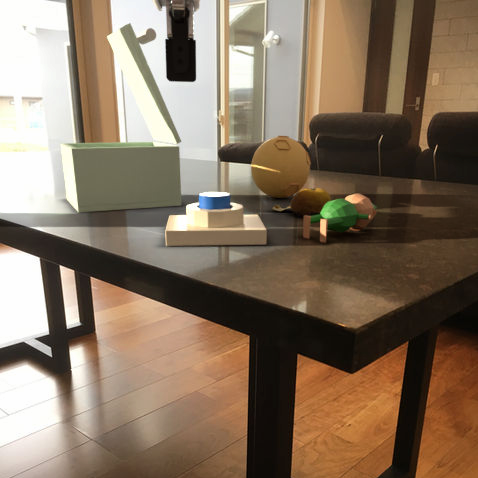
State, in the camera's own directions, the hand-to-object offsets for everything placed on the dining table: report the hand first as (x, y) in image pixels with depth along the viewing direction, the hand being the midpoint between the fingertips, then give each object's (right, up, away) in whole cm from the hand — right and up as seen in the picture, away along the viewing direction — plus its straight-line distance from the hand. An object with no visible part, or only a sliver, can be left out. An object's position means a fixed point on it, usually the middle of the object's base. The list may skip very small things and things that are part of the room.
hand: (181, 80), depth 57 cm
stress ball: (+13, -6, +32) cm, 35 cm away
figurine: (+19, -16, +6) cm, 26 cm away
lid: (-8, +9, +21) cm, 25 cm away
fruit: (+16, -11, +19) cm, 27 cm away
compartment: (-12, -8, +26) cm, 30 cm away
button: (+4, -14, +3) cm, 14 cm away
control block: (+4, -16, +4) cm, 17 cm away
